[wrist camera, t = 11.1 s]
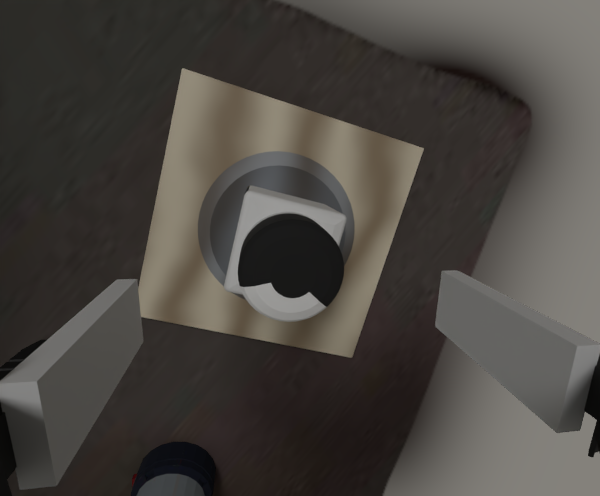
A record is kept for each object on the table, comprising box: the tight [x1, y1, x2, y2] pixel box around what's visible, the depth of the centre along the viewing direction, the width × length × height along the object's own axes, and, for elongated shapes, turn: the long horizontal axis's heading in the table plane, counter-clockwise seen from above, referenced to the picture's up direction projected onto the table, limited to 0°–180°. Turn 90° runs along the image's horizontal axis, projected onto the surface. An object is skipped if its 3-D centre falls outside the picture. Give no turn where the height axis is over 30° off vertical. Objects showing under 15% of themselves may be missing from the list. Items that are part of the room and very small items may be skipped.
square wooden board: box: [138, 68, 424, 358], centre depth 31 cm, size 22×22×2 cm
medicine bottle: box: [224, 186, 347, 322], centre depth 24 cm, size 7×7×12 cm
